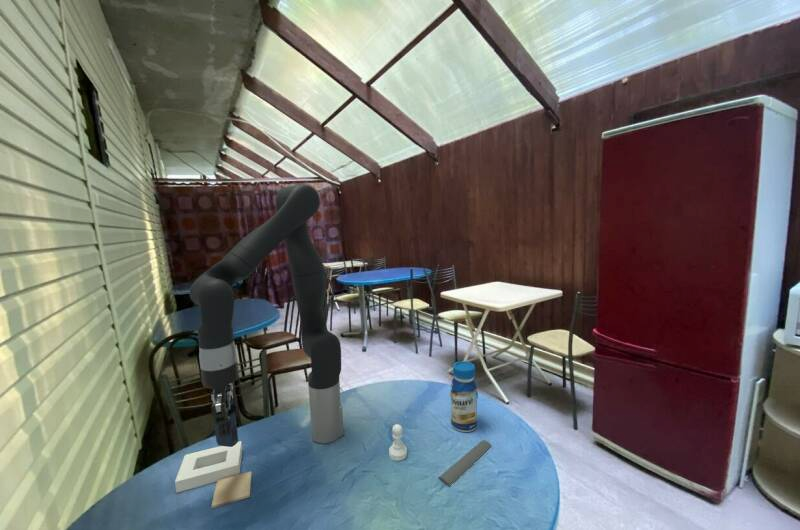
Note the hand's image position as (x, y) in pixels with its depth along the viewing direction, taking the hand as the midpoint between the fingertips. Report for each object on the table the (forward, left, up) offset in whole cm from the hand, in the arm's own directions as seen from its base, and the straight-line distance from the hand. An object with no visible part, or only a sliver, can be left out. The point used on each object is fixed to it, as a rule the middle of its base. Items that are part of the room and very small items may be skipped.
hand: (226, 429), depth 78 cm
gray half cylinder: (-58, +15, -17) cm, 62 cm away
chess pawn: (-42, +5, -17) cm, 45 cm away
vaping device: (0, 0, -4) cm, 4 cm away
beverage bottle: (-66, +1, -17) cm, 68 cm away
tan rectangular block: (0, 0, -16) cm, 16 cm away
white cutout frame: (+6, -9, -16) cm, 20 cm away
